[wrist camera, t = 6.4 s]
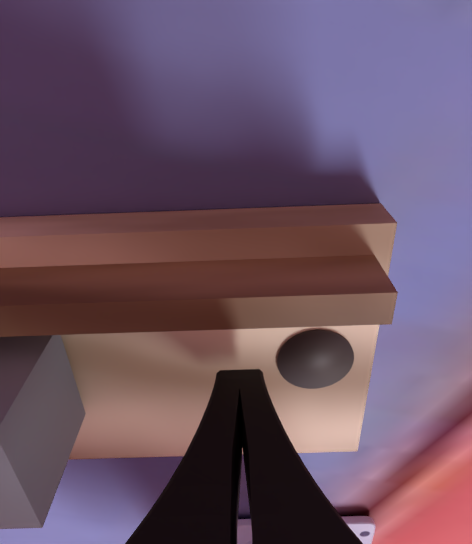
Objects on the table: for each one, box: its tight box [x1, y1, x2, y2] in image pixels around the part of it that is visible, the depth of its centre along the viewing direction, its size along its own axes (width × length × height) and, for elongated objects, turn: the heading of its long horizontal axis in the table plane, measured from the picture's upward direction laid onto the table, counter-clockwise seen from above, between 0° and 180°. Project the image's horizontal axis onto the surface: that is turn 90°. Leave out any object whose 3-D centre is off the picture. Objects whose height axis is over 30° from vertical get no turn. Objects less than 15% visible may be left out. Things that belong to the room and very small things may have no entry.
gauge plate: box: [0, 203, 398, 459], centre depth 13 cm, size 10×24×6 cm, turn 92°
